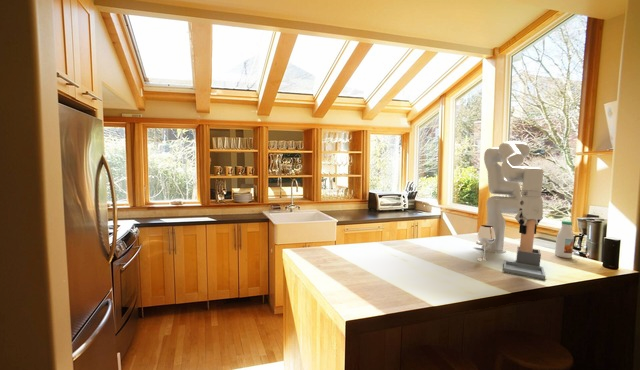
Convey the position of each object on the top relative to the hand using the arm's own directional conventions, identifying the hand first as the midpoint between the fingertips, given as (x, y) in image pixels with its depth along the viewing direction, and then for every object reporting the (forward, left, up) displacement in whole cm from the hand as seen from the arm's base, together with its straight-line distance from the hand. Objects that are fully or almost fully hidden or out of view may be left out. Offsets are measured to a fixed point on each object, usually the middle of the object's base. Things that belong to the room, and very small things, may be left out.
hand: (527, 233), depth 150 cm
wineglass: (-17, +7, -19) cm, 27 cm away
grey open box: (+2, +14, -19) cm, 24 cm away
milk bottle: (+20, +47, -19) cm, 55 cm away
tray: (0, 0, -19) cm, 19 cm away
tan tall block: (0, 0, -8) cm, 8 cm away
